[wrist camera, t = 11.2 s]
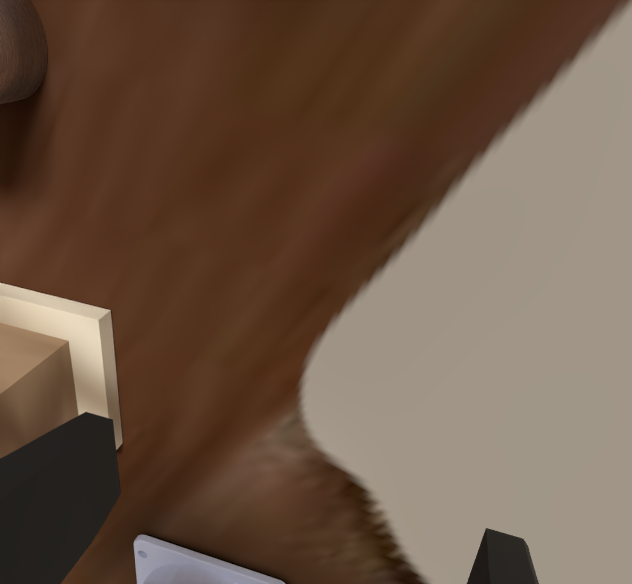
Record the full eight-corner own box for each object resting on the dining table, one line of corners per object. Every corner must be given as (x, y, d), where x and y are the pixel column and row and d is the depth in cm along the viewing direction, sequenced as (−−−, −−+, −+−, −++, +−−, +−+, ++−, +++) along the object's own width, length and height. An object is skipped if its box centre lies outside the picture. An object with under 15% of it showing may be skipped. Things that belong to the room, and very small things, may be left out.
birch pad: (122, 442, 26) (112, 454, 25) (-7, 403, 27) (-21, 414, 26) (110, 310, 22) (98, 320, 22) (-37, 273, 24) (-53, 281, 23)
